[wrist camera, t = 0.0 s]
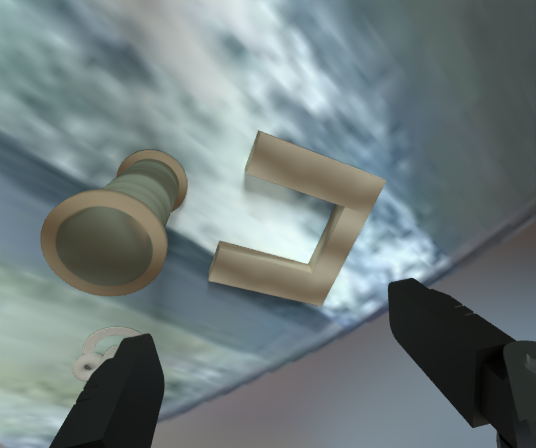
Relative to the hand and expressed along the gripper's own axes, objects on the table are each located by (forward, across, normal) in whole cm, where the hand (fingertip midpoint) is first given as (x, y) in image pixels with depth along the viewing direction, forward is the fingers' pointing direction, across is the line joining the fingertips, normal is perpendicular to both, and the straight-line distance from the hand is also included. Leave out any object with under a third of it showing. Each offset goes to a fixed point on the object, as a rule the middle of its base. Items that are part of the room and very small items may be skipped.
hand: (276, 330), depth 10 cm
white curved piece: (+25, +20, +14) cm, 35 cm away
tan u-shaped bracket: (+23, -5, +4) cm, 24 cm away
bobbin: (+22, +8, -4) cm, 24 cm away
